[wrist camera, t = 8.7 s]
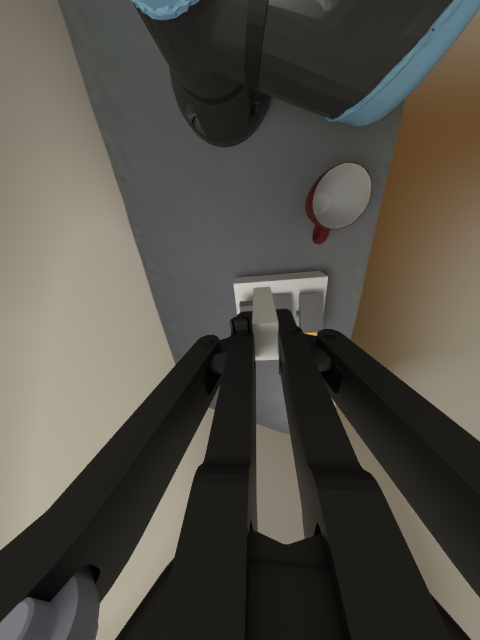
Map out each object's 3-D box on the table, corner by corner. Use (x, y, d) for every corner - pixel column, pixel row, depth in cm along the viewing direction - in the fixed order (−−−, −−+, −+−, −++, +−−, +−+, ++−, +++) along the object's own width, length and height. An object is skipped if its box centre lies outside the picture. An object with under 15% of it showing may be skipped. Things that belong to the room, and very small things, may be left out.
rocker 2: (269, 296, 39) (269, 295, 37) (290, 295, 38) (291, 294, 36) (271, 343, 39) (272, 344, 37) (292, 342, 39) (294, 343, 37)
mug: (334, 240, 37) (358, 246, 29) (294, 241, 38) (306, 247, 29) (346, 176, 32) (380, 159, 24) (300, 179, 33) (316, 163, 24)
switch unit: (235, 277, 43) (232, 286, 36) (320, 270, 40) (331, 279, 34) (242, 332, 50) (240, 348, 44) (314, 329, 48) (322, 345, 41)
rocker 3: (298, 294, 37) (300, 294, 36) (320, 292, 37) (324, 292, 35) (299, 340, 39) (301, 343, 37) (320, 339, 39) (323, 342, 37)
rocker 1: (239, 301, 36) (239, 307, 35) (261, 299, 35) (262, 306, 34) (244, 333, 43) (244, 340, 42) (263, 333, 42) (263, 339, 41)
